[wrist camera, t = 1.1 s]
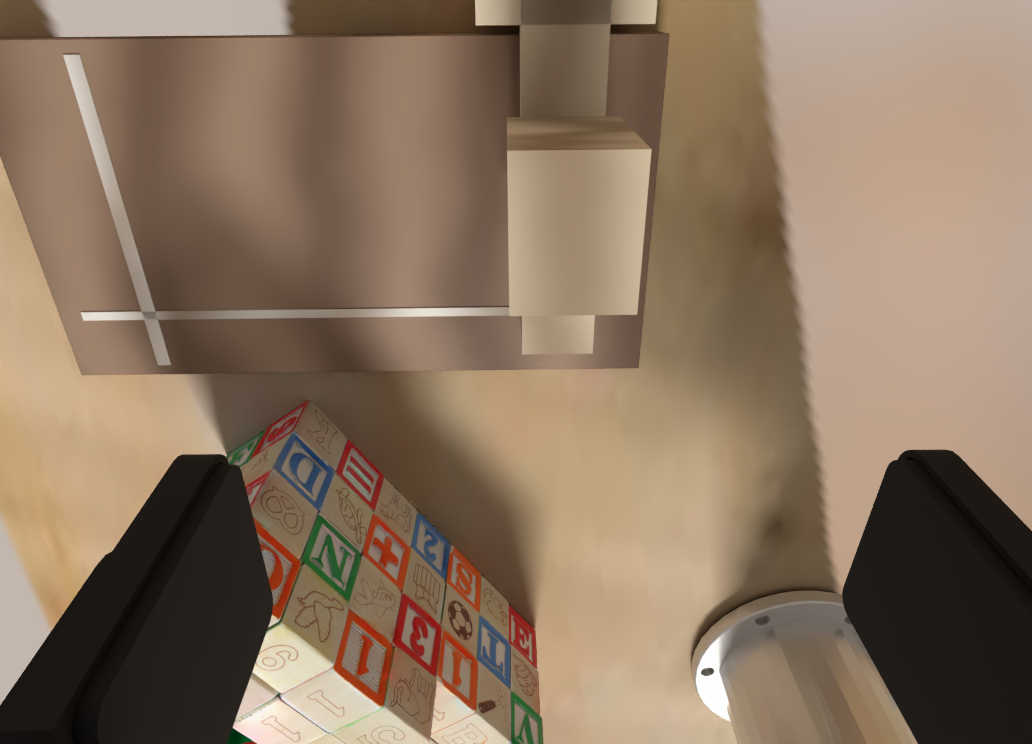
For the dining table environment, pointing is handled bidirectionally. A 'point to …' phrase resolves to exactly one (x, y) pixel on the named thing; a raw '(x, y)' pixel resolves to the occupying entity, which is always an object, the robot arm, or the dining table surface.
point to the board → (290, 198)
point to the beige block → (571, 173)
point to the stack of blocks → (372, 609)
